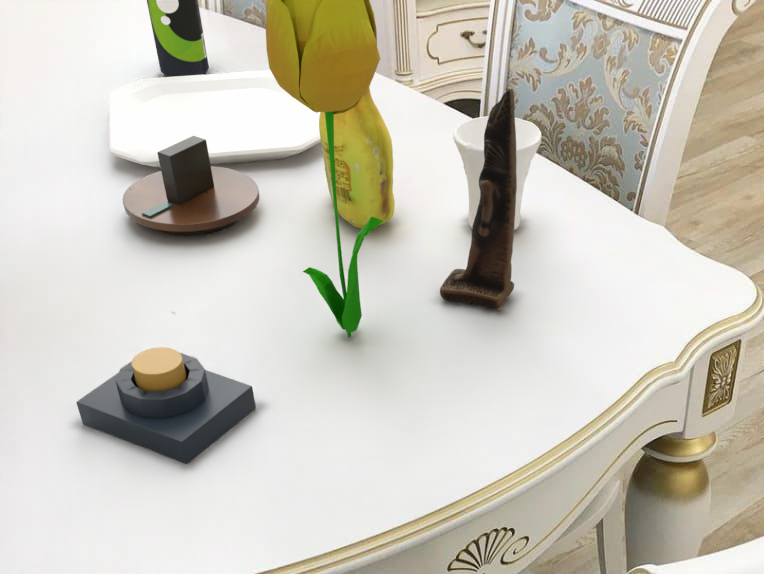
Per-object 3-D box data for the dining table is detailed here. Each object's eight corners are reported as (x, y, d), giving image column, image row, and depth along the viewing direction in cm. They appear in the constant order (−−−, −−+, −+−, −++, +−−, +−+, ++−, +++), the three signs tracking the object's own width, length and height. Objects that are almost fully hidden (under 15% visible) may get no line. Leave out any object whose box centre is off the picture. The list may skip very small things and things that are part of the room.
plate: (309, 84, 144) (307, 66, 143) (334, 164, 128) (332, 144, 126) (112, 98, 140) (108, 79, 138) (112, 182, 123) (107, 162, 122)
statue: (454, 282, 109) (449, 66, 95) (521, 295, 108) (527, 78, 93) (438, 302, 107) (431, 83, 92) (507, 316, 105) (511, 96, 91)
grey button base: (82, 424, 92) (69, 383, 89) (155, 372, 97) (145, 331, 94) (187, 464, 88) (177, 422, 85) (256, 408, 94) (249, 367, 91)
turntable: (191, 162, 124) (181, 108, 120) (286, 194, 119) (279, 139, 115) (95, 208, 116) (81, 152, 111) (193, 244, 110) (182, 187, 106)
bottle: (313, 196, 122) (290, -6, 107) (368, 186, 124) (353, -13, 109) (349, 244, 114) (330, 34, 100) (407, 232, 116) (396, 25, 102)
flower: (298, 360, 99) (247, -14, 77) (308, 313, 105) (263, -48, 83) (395, 360, 99) (371, -12, 78) (399, 314, 105) (378, -46, 83)
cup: (435, 227, 117) (432, 131, 110) (494, 199, 122) (494, 105, 115) (497, 255, 113) (498, 157, 106) (555, 225, 118) (560, 129, 111)
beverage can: (182, 63, 149) (158, -66, 138) (219, 71, 147) (198, -58, 136) (151, 77, 145) (125, -54, 134) (190, 86, 143) (166, -46, 132)
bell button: (125, 384, 90) (120, 365, 88) (158, 360, 92) (154, 342, 91) (164, 398, 88) (159, 379, 87) (196, 374, 91) (192, 355, 90)
